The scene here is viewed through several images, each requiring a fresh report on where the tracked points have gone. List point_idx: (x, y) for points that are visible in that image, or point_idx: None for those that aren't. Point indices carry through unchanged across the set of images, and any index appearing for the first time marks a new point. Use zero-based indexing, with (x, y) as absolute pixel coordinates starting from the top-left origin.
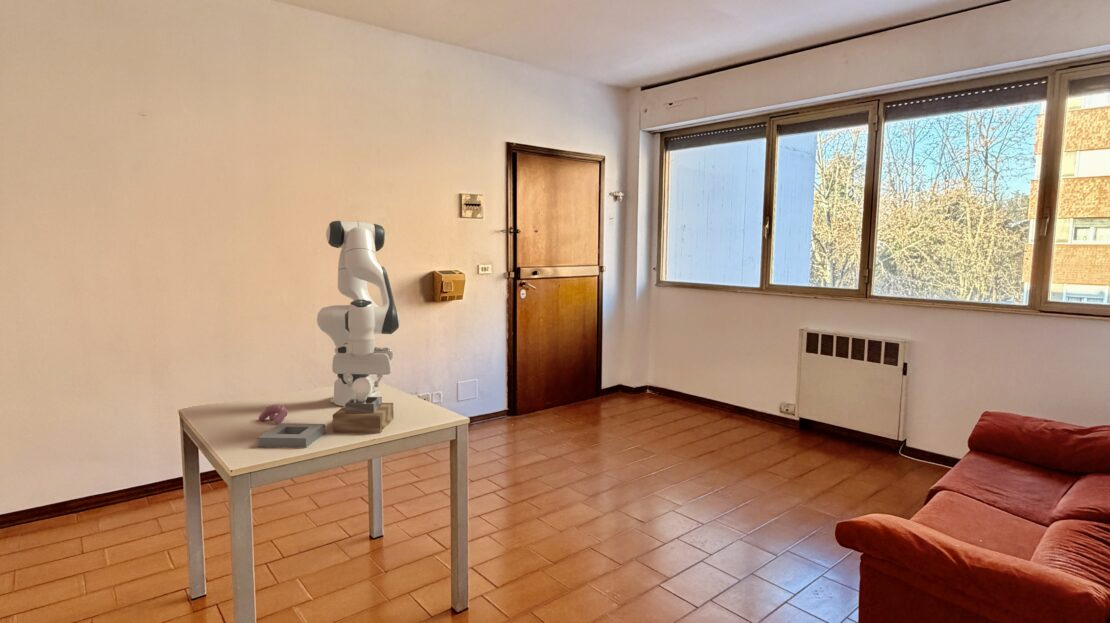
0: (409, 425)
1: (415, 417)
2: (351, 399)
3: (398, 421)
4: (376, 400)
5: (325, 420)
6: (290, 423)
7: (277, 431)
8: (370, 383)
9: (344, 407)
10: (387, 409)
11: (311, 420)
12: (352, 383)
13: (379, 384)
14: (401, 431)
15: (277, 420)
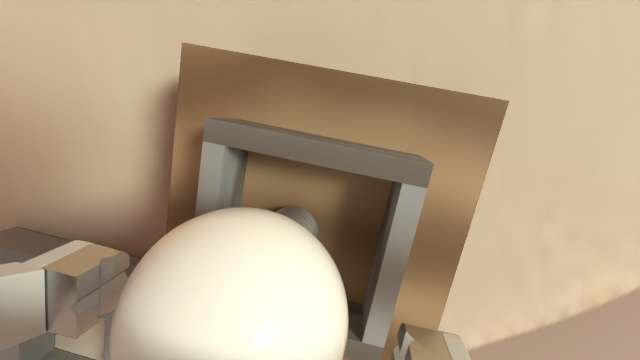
0: (550, 237)
1: (602, 89)
2: (200, 208)
3: (493, 156)
4: (395, 274)
5: (128, 85)
6: (13, 253)
7: (13, 346)
8: (338, 355)
9: (183, 178)
10: (460, 246)
11: (68, 76)
12: (108, 262)
13: (461, 353)
14: (503, 320)
15: None
